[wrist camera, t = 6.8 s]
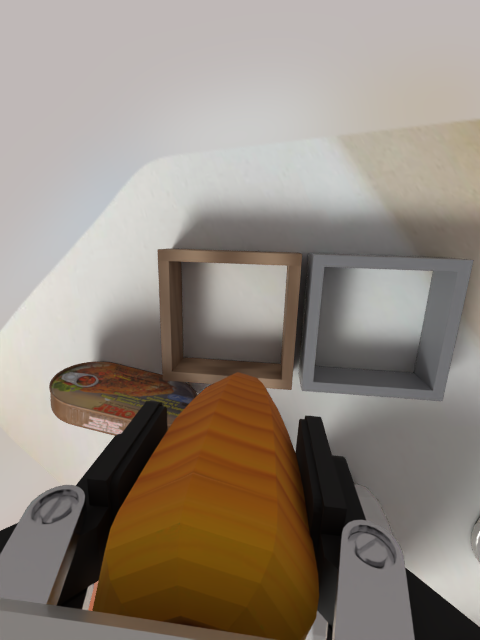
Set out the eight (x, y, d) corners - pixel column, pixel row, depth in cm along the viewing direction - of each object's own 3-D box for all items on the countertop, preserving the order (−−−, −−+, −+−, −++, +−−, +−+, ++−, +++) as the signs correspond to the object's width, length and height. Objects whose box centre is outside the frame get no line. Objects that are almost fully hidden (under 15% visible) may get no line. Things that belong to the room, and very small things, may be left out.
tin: (206, 385, 35) (186, 428, 27) (201, 409, 36) (180, 458, 28) (83, 354, 36) (28, 387, 28) (81, 378, 37) (27, 417, 28)
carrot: (293, 418, 17) (439, 1548, 2) (205, 422, 17) (-118, 1335, 3) (286, 332, 15) (500, 1581, 1) (192, 340, 16) (-481, 1204, 2)
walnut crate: (298, 252, 30) (302, 254, 26) (289, 372, 34) (291, 389, 30) (171, 248, 31) (157, 249, 28) (174, 364, 35) (162, 380, 31)
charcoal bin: (446, 257, 29) (473, 260, 25) (422, 382, 32) (442, 401, 28) (308, 253, 30) (313, 254, 26) (298, 373, 33) (301, 390, 30)
